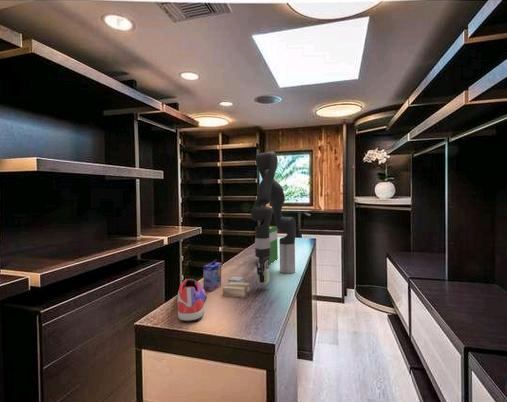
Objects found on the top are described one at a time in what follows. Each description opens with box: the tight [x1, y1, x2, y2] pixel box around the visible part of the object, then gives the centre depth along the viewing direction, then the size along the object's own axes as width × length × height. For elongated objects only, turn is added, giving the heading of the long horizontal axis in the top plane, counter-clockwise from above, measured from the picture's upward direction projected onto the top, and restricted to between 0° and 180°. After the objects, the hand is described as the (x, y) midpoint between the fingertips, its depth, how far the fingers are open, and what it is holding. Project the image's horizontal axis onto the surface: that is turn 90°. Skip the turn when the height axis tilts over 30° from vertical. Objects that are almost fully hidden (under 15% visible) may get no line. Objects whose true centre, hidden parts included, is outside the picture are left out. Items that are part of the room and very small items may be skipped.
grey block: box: [227, 275, 245, 284], centre depth 150 cm, size 6×6×4 cm
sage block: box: [256, 268, 271, 285], centre depth 143 cm, size 5×5×6 cm
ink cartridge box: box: [202, 259, 222, 292], centre depth 147 cm, size 10×6×14 cm, turn 158°
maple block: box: [222, 282, 251, 298], centre depth 139 cm, size 10×10×4 cm
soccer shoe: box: [177, 278, 208, 323], centre depth 124 cm, size 12×36×13 cm, turn 10°
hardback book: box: [269, 225, 279, 266], centre depth 201 cm, size 18×7×24 cm, turn 157°
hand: (263, 280), depth 143 cm, fingers closed on sage block, 5 cm apart
